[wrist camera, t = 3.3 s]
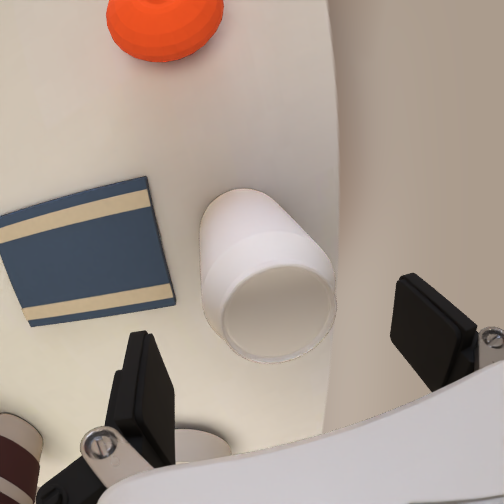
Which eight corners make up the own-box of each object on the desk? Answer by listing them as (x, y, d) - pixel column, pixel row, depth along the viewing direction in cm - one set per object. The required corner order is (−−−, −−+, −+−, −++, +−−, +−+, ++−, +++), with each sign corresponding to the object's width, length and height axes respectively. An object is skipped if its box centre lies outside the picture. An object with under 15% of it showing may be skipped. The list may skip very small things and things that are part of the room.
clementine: (108, -6, 16) (79, -47, 9) (201, -35, 16) (205, -86, 9) (133, 85, 19) (106, 68, 12) (231, 53, 19) (246, 24, 13)
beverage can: (299, 225, 25) (375, 307, 14) (241, 280, 26) (275, 393, 15) (241, 167, 22) (286, 212, 11) (181, 230, 23) (171, 326, 12)
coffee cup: (57, 429, 29) (33, 531, 16) (48, 459, 32) (31, 543, 18) (-11, 392, 26) (-52, 485, 12) (-11, 428, 28) (-39, 507, 15)
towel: (146, 175, 21) (144, 177, 21) (176, 300, 25) (175, 306, 24) (-6, 218, 20) (-12, 221, 19) (33, 322, 24) (30, 327, 23)
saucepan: (143, 490, 37) (143, 520, 31) (135, 415, 30) (131, 456, 25) (218, 494, 39) (222, 523, 34) (240, 422, 32) (248, 462, 27)
